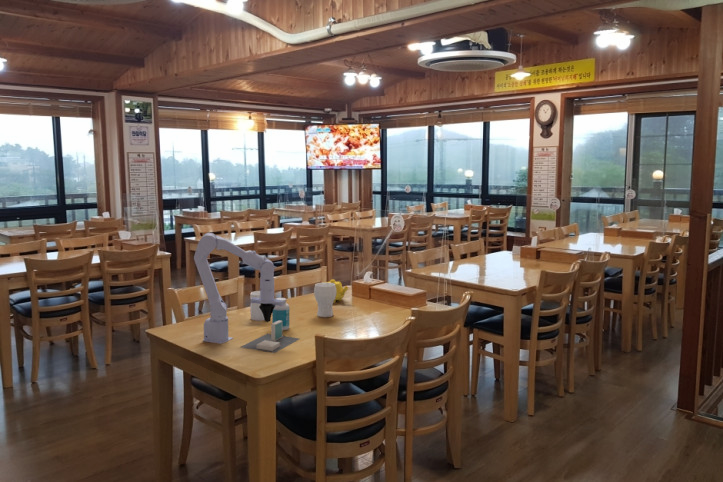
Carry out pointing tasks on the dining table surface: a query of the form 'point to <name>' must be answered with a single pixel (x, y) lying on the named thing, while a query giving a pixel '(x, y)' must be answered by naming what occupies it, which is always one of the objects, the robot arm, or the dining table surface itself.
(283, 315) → the pill bottle
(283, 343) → the mat
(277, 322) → the tile
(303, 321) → the dining table surface
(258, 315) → the vase
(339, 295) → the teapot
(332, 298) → the cup
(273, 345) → the tile
